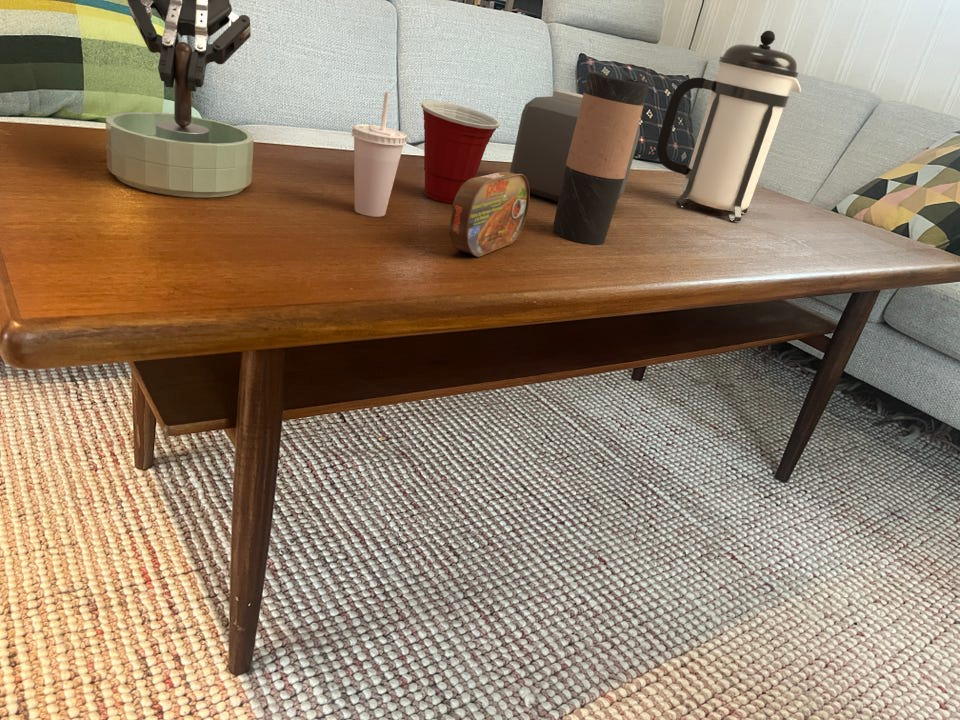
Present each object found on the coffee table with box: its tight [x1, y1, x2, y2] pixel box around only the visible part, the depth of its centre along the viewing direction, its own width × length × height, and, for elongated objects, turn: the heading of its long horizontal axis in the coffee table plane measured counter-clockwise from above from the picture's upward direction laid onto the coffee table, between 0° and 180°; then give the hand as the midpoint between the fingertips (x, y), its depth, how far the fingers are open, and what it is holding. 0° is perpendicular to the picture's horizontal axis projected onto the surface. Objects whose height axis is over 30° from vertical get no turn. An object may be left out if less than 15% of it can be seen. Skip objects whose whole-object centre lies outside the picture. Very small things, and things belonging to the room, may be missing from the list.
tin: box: [449, 171, 531, 258], centre depth 82 cm, size 15×3×8 cm, turn 151°
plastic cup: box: [420, 100, 501, 205], centre depth 99 cm, size 11×11×12 cm
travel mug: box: [552, 70, 649, 245], centre depth 93 cm, size 8×8×20 cm
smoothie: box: [350, 91, 408, 218], centre depth 85 cm, size 6×6×14 cm
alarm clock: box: [509, 89, 641, 203], centre depth 112 cm, size 16×11×16 cm
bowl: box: [105, 111, 255, 199], centre depth 84 cm, size 15×15×6 cm
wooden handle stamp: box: [156, 41, 209, 143], centre depth 81 cm, size 6×6×12 cm
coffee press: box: [656, 30, 802, 222], centre depth 125 cm, size 17×16×30 cm
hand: (180, 84), depth 79 cm, fingers closed on wooden handle stamp
